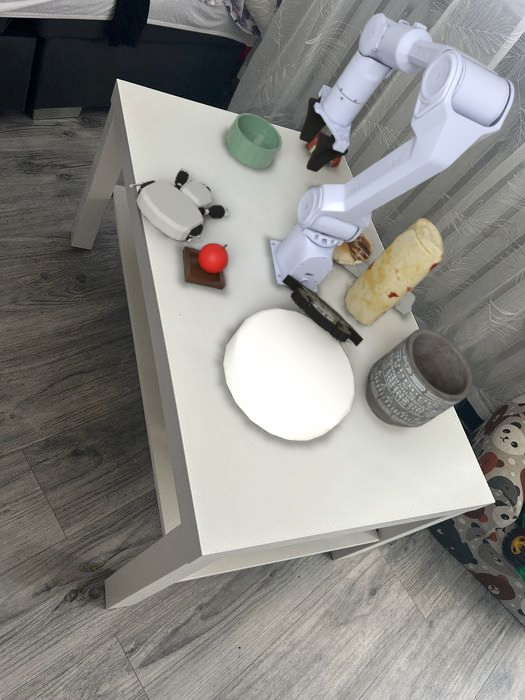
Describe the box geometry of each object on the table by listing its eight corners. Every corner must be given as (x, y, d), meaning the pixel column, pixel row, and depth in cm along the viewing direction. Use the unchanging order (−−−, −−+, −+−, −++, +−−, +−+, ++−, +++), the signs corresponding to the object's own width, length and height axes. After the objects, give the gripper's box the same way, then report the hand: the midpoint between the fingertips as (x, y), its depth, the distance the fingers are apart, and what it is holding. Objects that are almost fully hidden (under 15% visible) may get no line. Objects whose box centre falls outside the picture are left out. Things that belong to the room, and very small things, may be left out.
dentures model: (307, 143, 120) (340, 164, 121) (317, 126, 121) (349, 148, 122) (299, 153, 125) (331, 174, 127) (309, 137, 126) (340, 158, 127)
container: (206, 322, 87) (219, 304, 83) (313, 321, 98) (329, 305, 95) (247, 450, 79) (264, 435, 75) (359, 432, 90) (378, 419, 87)
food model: (377, 333, 104) (457, 263, 90) (345, 325, 102) (423, 251, 87) (367, 289, 110) (441, 217, 95) (337, 281, 107) (409, 204, 92)
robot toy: (174, 178, 102) (117, 204, 90) (185, 157, 99) (128, 182, 87) (227, 227, 101) (176, 259, 90) (239, 208, 98) (189, 239, 87)
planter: (429, 425, 98) (486, 390, 89) (381, 445, 91) (438, 409, 81) (392, 362, 102) (443, 322, 93) (343, 377, 94) (393, 334, 85)
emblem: (363, 334, 100) (364, 351, 86) (356, 341, 101) (357, 359, 86) (291, 272, 100) (280, 278, 86) (285, 279, 100) (273, 286, 86)
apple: (217, 283, 92) (241, 260, 90) (195, 271, 89) (219, 247, 87) (210, 264, 95) (233, 242, 93) (189, 252, 92) (212, 228, 90)
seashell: (359, 210, 100) (383, 257, 105) (344, 203, 105) (367, 248, 110) (322, 237, 100) (347, 282, 105) (308, 229, 105) (333, 272, 110)
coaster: (222, 290, 92) (225, 286, 91) (184, 282, 89) (187, 278, 88) (218, 259, 95) (221, 255, 94) (182, 250, 92) (184, 246, 92)
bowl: (273, 174, 115) (285, 157, 111) (228, 159, 110) (238, 141, 107) (267, 140, 120) (278, 123, 116) (223, 125, 115) (233, 106, 112)
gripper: (322, 55, 98) (282, 120, 108) (339, 112, 91) (294, 176, 101) (357, 71, 101) (315, 132, 111) (376, 127, 94) (329, 188, 104)
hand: (307, 154), depth 106 cm, fingers open, 7 cm apart
